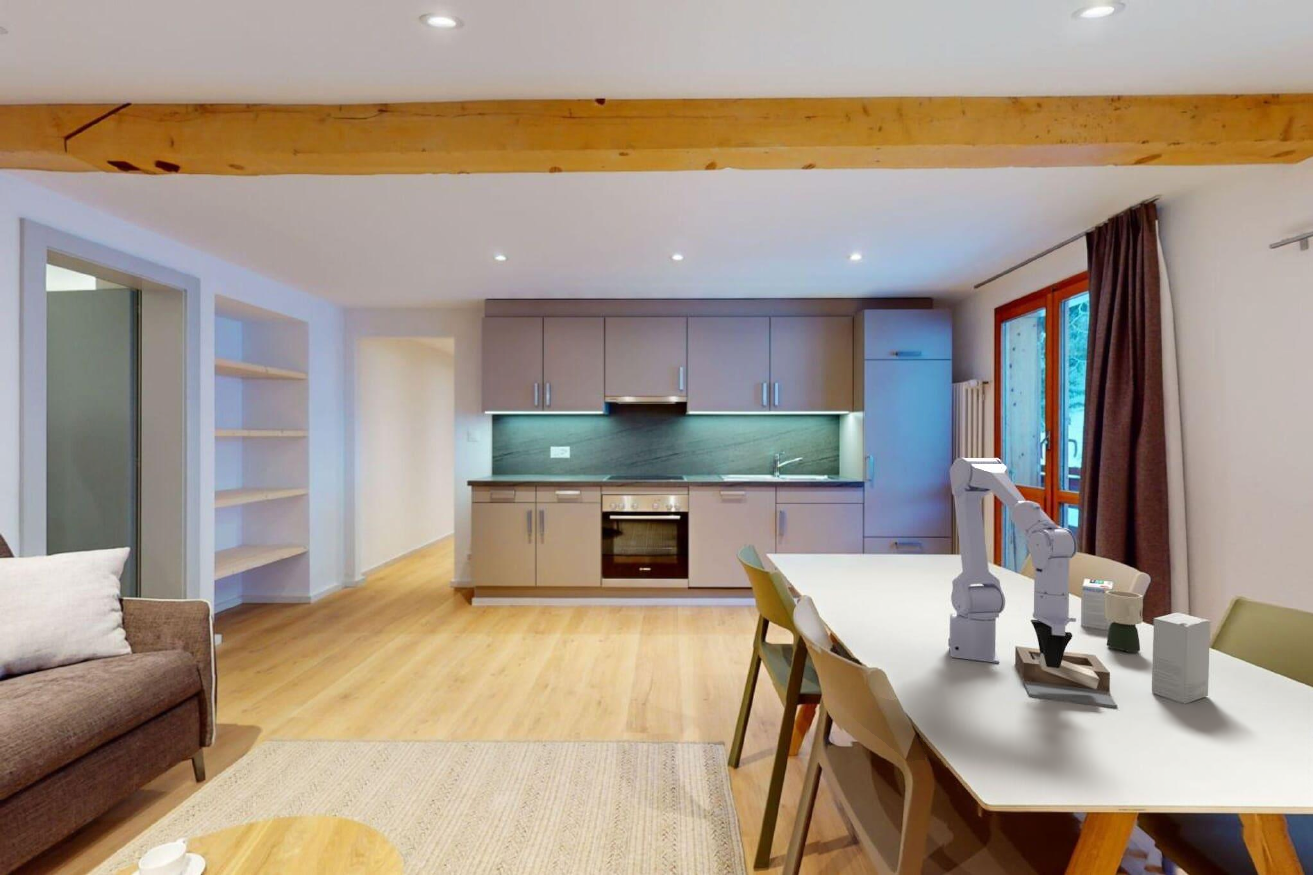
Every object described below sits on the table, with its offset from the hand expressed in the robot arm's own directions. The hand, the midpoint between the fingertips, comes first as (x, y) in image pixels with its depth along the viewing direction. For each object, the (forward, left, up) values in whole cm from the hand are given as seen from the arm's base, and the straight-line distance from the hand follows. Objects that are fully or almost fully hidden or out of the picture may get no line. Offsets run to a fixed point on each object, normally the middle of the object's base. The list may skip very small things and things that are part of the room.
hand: (1050, 662), depth 126 cm
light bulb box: (+21, +59, -6) cm, 63 cm away
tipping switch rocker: (+3, +10, -4) cm, 11 cm away
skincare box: (+23, +8, -6) cm, 25 cm away
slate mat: (+3, 0, -6) cm, 6 cm away
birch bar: (+3, 0, -2) cm, 3 cm away
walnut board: (+4, +10, -6) cm, 12 cm away
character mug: (+21, +36, -6) cm, 42 cm away
